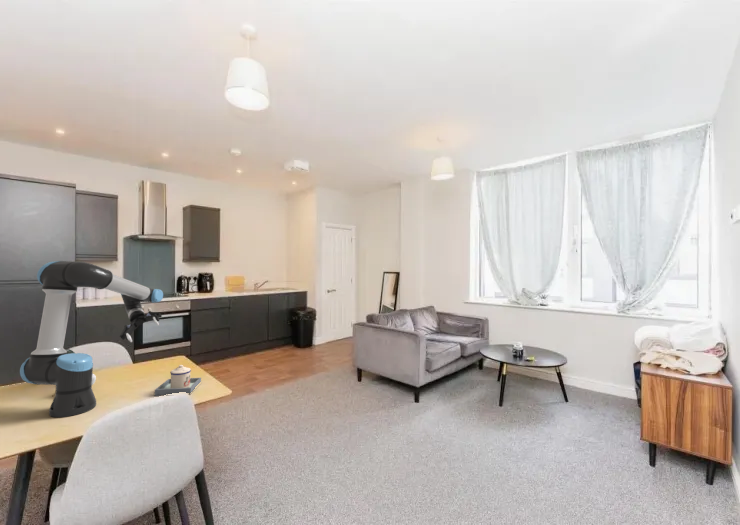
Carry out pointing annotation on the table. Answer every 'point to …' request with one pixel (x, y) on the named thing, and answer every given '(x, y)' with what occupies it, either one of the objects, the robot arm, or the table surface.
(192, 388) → the tray
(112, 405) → the table surface
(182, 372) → the teacup with lid
